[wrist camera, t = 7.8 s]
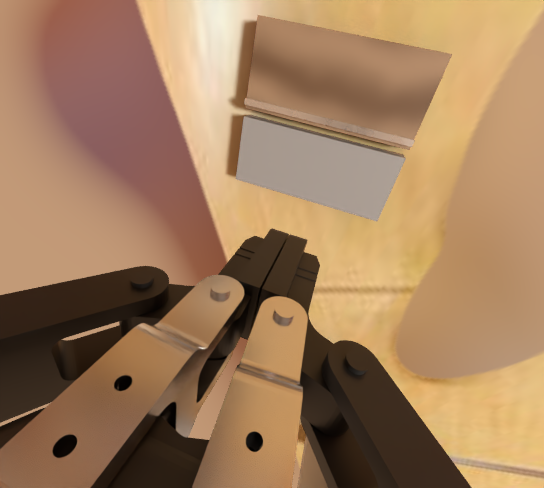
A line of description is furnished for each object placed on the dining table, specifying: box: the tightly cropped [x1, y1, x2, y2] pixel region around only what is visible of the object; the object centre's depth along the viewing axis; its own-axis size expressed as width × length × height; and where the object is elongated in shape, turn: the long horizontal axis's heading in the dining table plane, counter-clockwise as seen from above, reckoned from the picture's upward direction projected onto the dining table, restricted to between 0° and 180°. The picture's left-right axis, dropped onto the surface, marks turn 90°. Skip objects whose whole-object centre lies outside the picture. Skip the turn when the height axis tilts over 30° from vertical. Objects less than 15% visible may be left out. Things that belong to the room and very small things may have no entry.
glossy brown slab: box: [244, 15, 452, 150], centre depth 26 cm, size 8×17×2 cm, turn 78°
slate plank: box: [236, 115, 406, 221], centre depth 30 cm, size 7×17×2 cm, turn 78°
